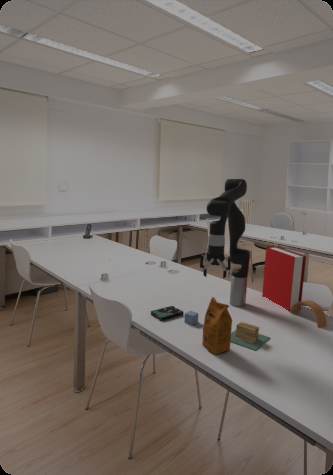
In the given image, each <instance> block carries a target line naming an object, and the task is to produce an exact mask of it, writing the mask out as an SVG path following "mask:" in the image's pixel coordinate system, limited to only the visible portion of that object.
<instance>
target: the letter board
mask: <svg viewBox="0 0 333 475" xmlns="http://www.w3.org/2000/svg"><path fill="white" fill-rule="evenodd" d="M270 338H271V337H270V336H267V335H264V334H261V333H259V335H258V340H256V341H255V342H254V343H252V342H249V341H246V340H244V339H241V338H238V337H236V329H235V330H233V331H231V341H230V343H232V344H235V345H238V346H240V347H243V348H247V349H249V350H252V351H255V352H256V351H257V350H259V349H260V348H261V347H262V346H263V345H264V344H265V343H266V342H267V341H268V340H270Z"/></svg>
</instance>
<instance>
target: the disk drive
mask: <svg viewBox="0 0 333 475" xmlns="http://www.w3.org/2000/svg"><path fill="white" fill-rule="evenodd" d="M150 315H151V316H152V317H153V318H154V319H156V320H158V321H160V322H165V321H168V320H172V319H175V318H179V317H182V316H184V315H185V312H184V311H183V310H181V309H179V308H178V307H177V308H176V307H175V306H174V305H169V306H165V307H161V308H158V309H154V310H151V311H150Z"/></svg>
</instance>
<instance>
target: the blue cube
mask: <svg viewBox="0 0 333 475" xmlns="http://www.w3.org/2000/svg"><path fill="white" fill-rule="evenodd" d="M198 322H199V312H196V311H193V310H189V311H187V312H184V323H185V324H188V325H190V326H194V325H195V324H197V323H198Z"/></svg>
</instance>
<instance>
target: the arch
mask: <svg viewBox="0 0 333 475" xmlns="http://www.w3.org/2000/svg"><path fill="white" fill-rule="evenodd" d="M303 305H306V306H307V307H309V308H310V309H311V310H312V312H313V313H314V315H315V318H316V323H317V324H316V326H317V329H318V328H319V329H320V328H324V327H327V323H328V322H327V317H326V315H325V312H324V310H323V308H322V307H321V306H320V304H318V303H317V302H315V301H313V300H303V301H302V300H301V302H297V303H295V304H294V305H293V306H292V308H291V310H289V313H290V314H291V313H295V314H299V313H300V310H301V309H300V307H301V308H302V306H303ZM299 309H300V310H299ZM298 312H299V313H298Z"/></svg>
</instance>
